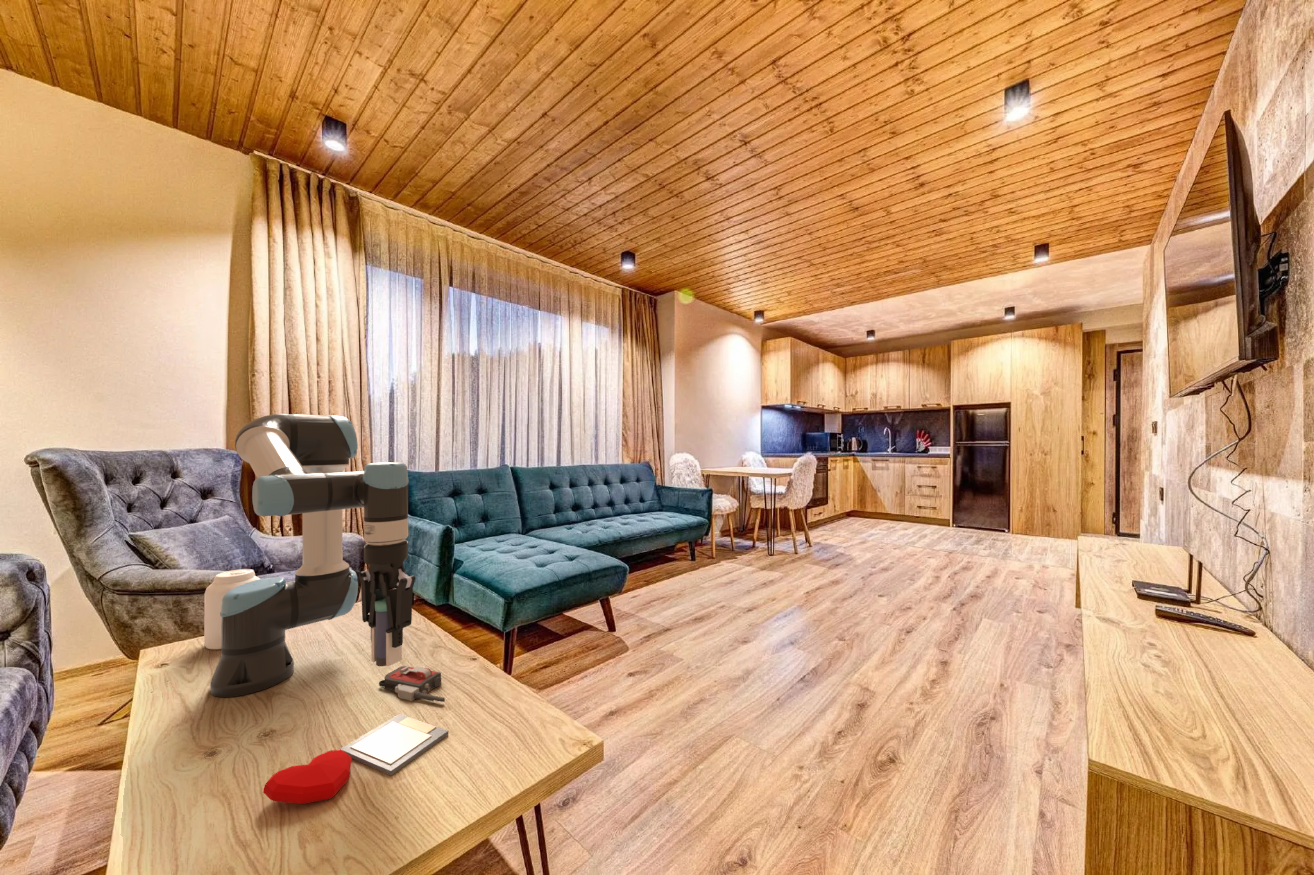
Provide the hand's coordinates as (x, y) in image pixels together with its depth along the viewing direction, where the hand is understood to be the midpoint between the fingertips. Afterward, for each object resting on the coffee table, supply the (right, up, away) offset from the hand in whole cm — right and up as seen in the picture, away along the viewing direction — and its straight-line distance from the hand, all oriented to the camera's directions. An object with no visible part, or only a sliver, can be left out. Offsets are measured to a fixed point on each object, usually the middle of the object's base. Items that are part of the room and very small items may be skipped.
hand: (386, 660), depth 90 cm
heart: (-3, -15, -14) cm, 21 cm away
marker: (0, 0, 0) cm, 0 cm away
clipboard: (+3, -15, -3) cm, 15 cm away
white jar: (-69, -15, +43) cm, 83 cm away
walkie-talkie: (-2, -15, +16) cm, 23 cm away
